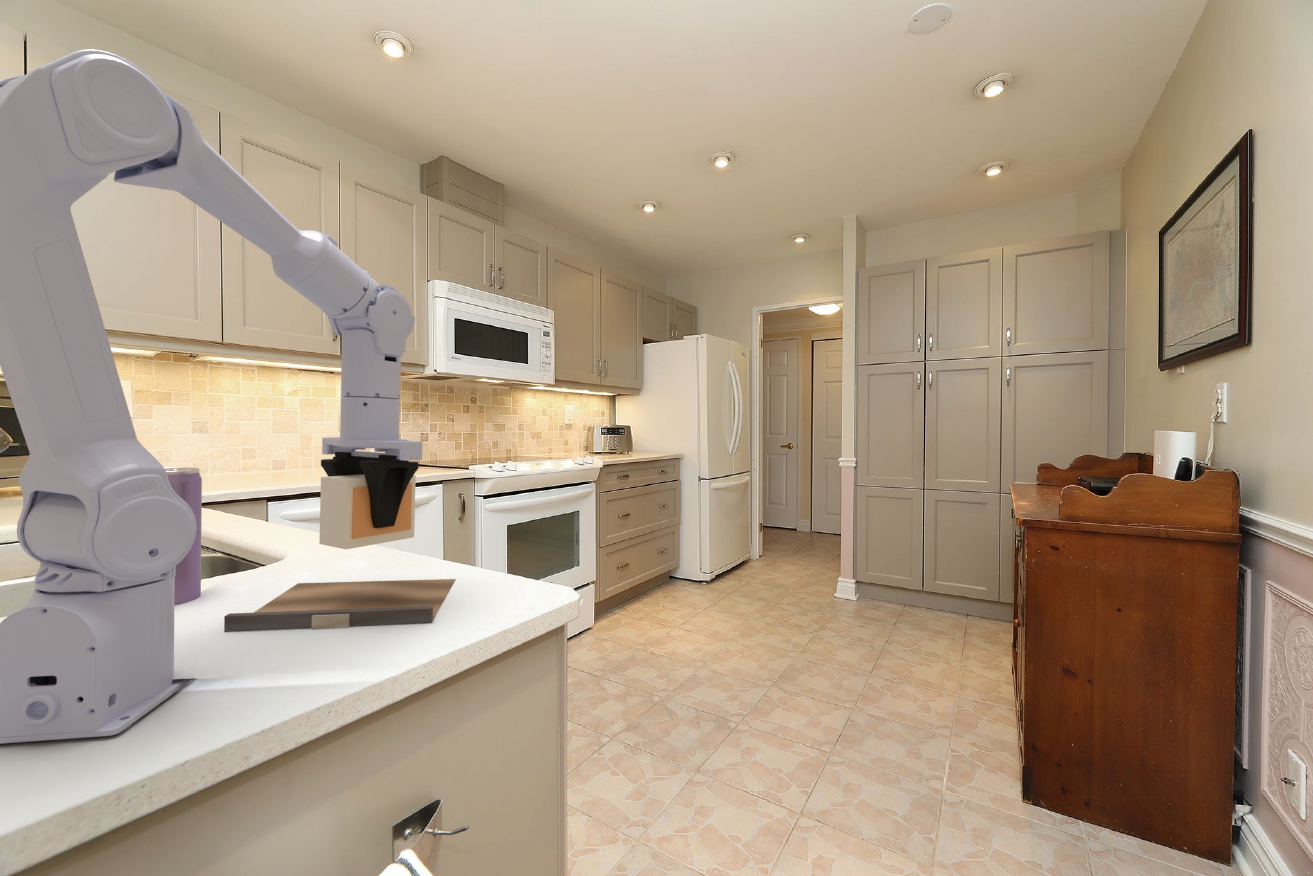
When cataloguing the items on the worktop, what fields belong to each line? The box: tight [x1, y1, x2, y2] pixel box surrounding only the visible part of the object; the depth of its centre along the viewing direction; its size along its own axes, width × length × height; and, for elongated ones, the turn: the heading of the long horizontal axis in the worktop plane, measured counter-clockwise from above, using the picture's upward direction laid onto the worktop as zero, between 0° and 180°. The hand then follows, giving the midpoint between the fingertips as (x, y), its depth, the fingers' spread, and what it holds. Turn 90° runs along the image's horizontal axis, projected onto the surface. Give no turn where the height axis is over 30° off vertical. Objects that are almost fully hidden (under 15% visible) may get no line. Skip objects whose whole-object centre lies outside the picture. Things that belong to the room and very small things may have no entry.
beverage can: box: [163, 466, 203, 606], centre depth 60 cm, size 6×6×15 cm
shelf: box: [223, 578, 457, 633], centre depth 61 cm, size 16×18×2 cm
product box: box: [318, 474, 417, 550], centre depth 61 cm, size 5×8×7 cm, turn 151°
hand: (368, 524), depth 61 cm, fingers closed on product box, 5 cm apart
